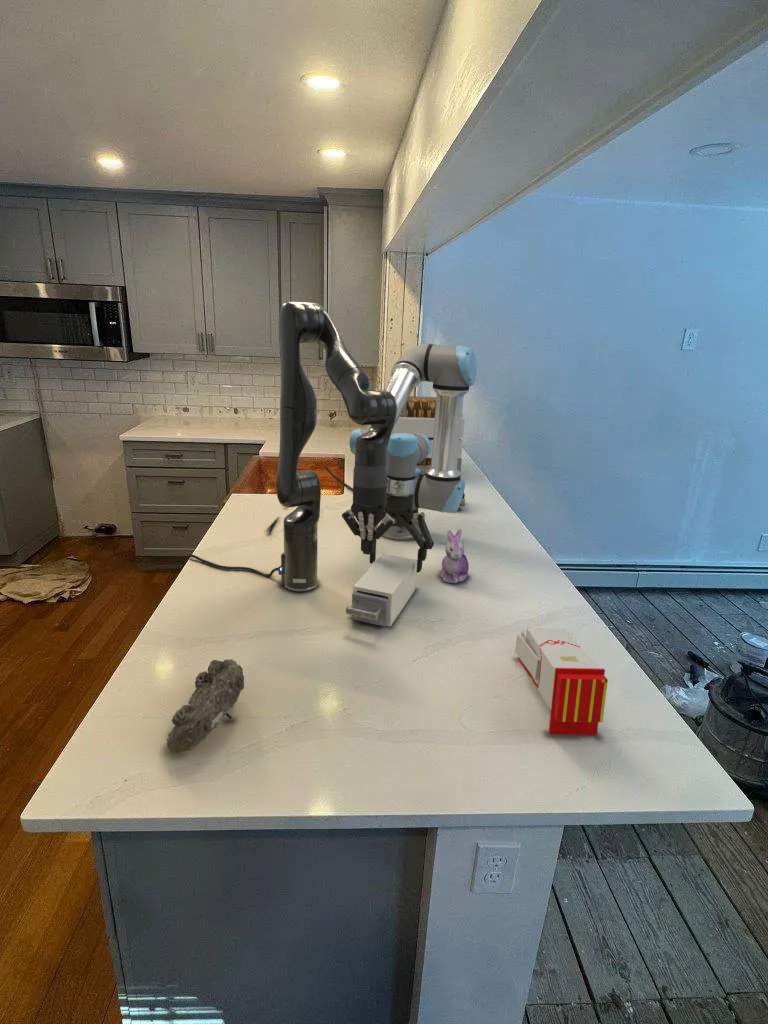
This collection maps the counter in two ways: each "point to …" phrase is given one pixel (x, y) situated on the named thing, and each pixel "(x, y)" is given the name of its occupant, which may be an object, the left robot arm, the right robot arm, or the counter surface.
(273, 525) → the feather
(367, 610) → the drawer
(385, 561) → the cabinet
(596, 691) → the toy
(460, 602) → the counter surface
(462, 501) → the figurine character
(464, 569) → the figurine
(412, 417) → the transformer
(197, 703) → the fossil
